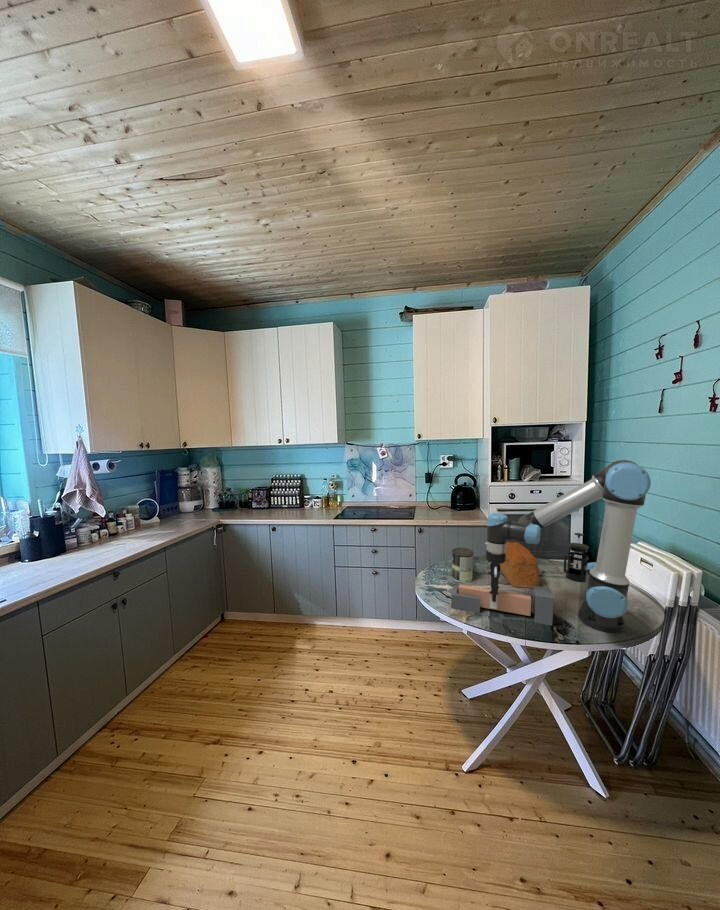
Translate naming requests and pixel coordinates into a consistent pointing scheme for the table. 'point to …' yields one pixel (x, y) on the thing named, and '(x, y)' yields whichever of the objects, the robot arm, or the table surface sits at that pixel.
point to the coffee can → (462, 565)
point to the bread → (520, 566)
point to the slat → (500, 600)
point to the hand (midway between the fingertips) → (493, 605)
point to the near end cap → (542, 605)
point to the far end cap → (464, 601)
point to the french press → (575, 569)
